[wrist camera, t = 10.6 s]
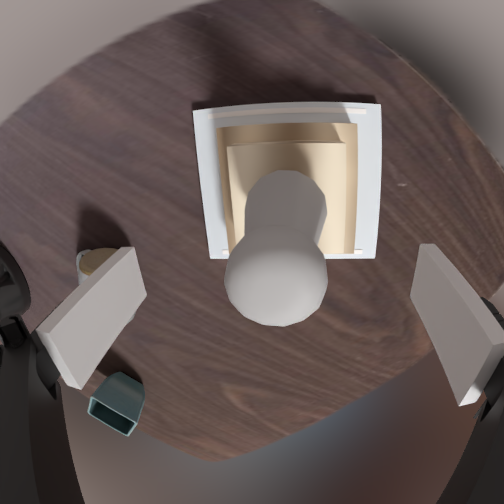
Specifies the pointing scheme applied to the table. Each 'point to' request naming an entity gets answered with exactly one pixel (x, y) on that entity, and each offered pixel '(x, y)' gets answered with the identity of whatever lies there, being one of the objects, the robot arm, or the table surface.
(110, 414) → the flower pot
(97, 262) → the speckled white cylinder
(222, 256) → the board
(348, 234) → the birch plinth
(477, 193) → the table surface
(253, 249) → the salt shaker
